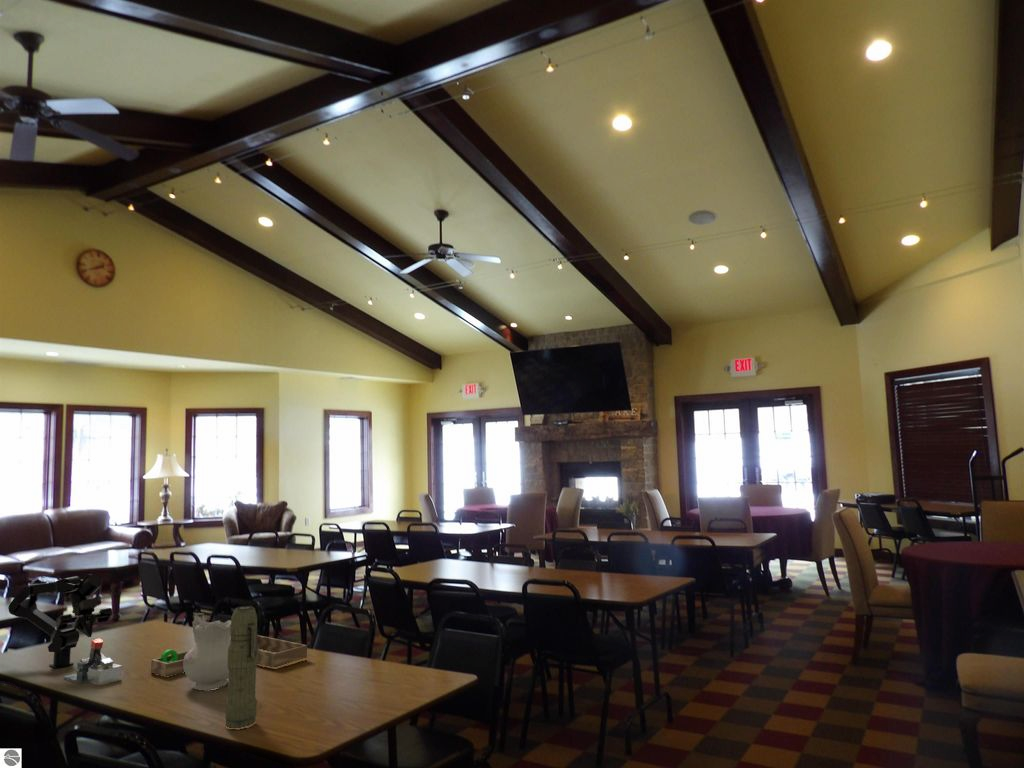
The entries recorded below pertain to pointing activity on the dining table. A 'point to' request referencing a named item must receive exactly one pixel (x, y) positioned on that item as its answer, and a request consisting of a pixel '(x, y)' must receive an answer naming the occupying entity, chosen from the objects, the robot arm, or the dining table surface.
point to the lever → (97, 656)
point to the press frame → (79, 673)
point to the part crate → (168, 665)
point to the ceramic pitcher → (208, 654)
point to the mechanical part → (167, 653)
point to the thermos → (242, 668)
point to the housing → (104, 674)
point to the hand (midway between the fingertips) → (90, 636)
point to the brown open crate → (279, 651)
